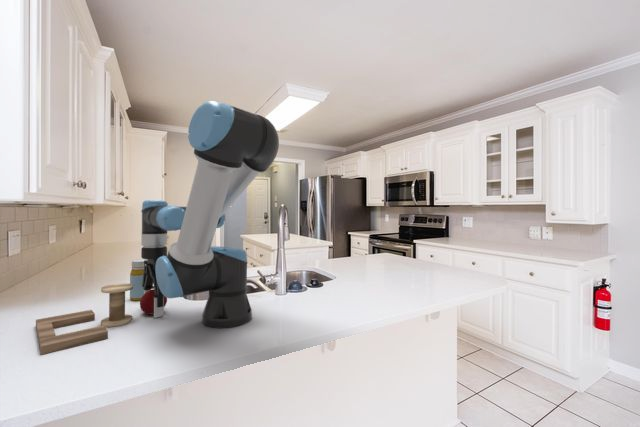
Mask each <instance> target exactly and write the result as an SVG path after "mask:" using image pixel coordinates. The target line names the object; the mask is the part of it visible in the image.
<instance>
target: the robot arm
mask: <svg viewBox="0 0 640 427" xmlns="http://www.w3.org/2000/svg"><path fill="white" fill-rule="evenodd" d="M187 133H188V137H187V138H188V142H189V145H190V146H191V147H192V148H193V149H194V150H193V156H195V158H196V159H197V164H196V169H195V172H194V177H193V181H192V185H191V188H190V192H189V196H188V200H187V203H186V206H177V205H168V204H169V203H168V202H167V201H166V200H156V199H155V200H154V199H149V200H144V201H143V202H142V207H141V211H140V212H141V239H140V240H141V243H140V244H141V246H142V248H141V252H140V253H141V259H148V260H144V272H143V281H142V287H144V288H143V289H144V290H145V291H144V294H145V293H146V292H148V291H150V290H152V289H154V290H155V296H153V298H154V314H153V318H154V319H155V318H160V317H164V316H165V314H164V313H165V307H164V296H165V297H167V299H176V298H184V297H186V296H187V297H188V296H191V295H196V294H201V293H205V292H206V293H207V292H208V297H207V300H206V303H205V306H204V309H203V311H202V315H201V318H202V319H201V322H202V325H204V326H206V327H209V328H218V329H219V328H220V329H221V328H223V329H224V328H226V329H227V328H235V327H237V326H242V325H244V324H246V323H248V322H250V321H251V319H252V317H253V316H252V313H253V310H252V308H251V304H250V300H249V298H248V295H247V292H248V291H247V288H248V286H247V284H248V283H247V282H248V253H247V251H246V250H245V249H243V248H238V247H231V246H230V247H229V246H217V245H216V246H212V243H213V241H214V237H215V234H216V233H215V232H216V230H217V229H219V228H222V227H223V225H224V224H225V222H226V214H225V213H226V212H227V211H228V210H229V208H230V207H231V206H232V205H233V204H234V203H235V202H236V200H237V199H238V198H239V197H241V195H242V193H244V192H245V190H246V189H247V188H248V187H249V185H250V184H251V183H252V182H253V181H254V180H255V178H257V176H258V175H259V174H260V173H261V174H262V173H265V172H266V171H267V170H268V169H269V168H270V166H272V164H273V163H274V161H275V159H276V158H277V154H278V152H279V144H280V140H279V135H278V131H277V129H276V127H275V126H274V125H273V123H272V122H271V121H270V120H269V119H268V118H266V117H265V116H262V115H260V114H256V113H253V112H250V111H247V110H244V109H242V108H238V107H236V106H233V105H231V104H229V103H228V104H227V103H225V102H219V101H215V100H209V101H206V102H203V103H202V104H201V105H200V106H198V107H197V108H196V110H195V111H194V113H193V115H192V117H191V119H190V121H189V125H188V132H187ZM171 231H175V232H176V231H179V234H178V238H177V241H176V242H173V243H172V244H171V245H170V246H169V248H168V247H167V246H166V245H167V244H168V239H169V235H168V232H171Z"/></svg>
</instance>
